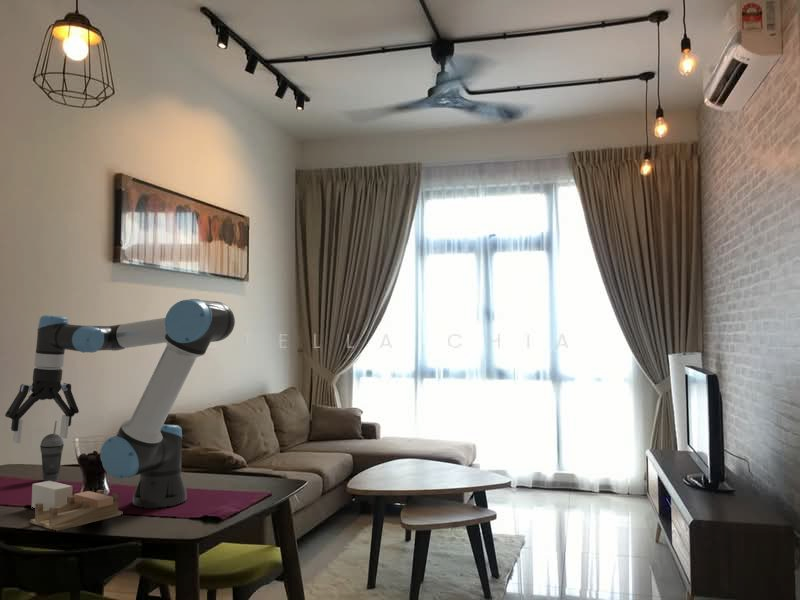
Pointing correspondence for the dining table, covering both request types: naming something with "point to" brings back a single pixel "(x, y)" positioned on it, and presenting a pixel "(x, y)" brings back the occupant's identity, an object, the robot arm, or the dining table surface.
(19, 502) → the dining table surface
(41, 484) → the white rectangular block
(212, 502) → the dining table surface
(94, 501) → the terracotta strip
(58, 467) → the beverage cup
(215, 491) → the dining table surface
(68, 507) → the oak rack
